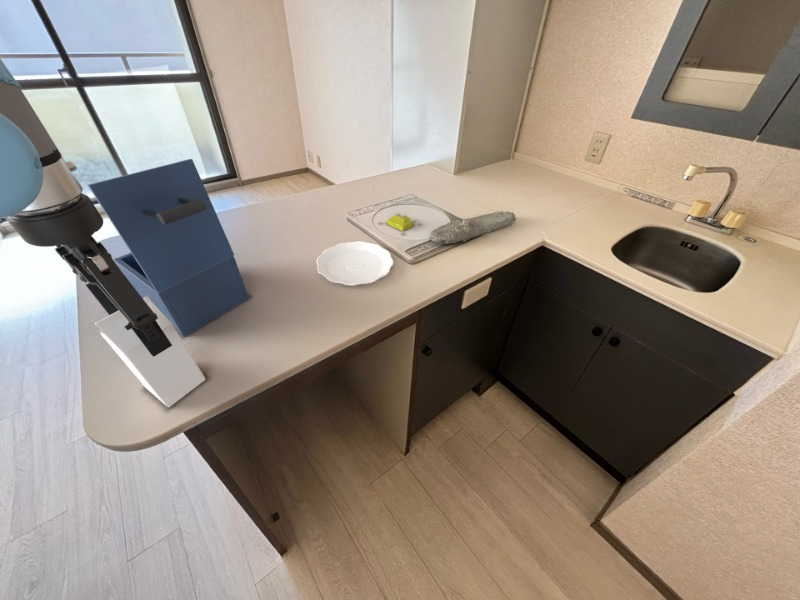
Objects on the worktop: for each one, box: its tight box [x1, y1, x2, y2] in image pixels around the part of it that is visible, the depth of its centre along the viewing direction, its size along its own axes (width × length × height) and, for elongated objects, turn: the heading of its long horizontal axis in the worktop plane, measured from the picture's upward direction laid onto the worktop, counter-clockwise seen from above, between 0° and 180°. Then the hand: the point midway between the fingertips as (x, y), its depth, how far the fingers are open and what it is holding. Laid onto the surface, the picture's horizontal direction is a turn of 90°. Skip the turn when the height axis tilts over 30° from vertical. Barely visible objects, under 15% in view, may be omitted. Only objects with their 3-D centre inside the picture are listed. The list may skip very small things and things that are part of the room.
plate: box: [315, 240, 394, 286], centre depth 90 cm, size 21×21×2 cm
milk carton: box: [95, 296, 206, 408], centre depth 54 cm, size 7×7×19 cm
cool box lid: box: [87, 158, 235, 292], centre depth 58 cm, size 20×16×9 cm
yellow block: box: [386, 214, 414, 232], centre depth 109 cm, size 10×9×3 cm
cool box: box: [112, 252, 250, 338], centre depth 74 cm, size 19×16×12 cm
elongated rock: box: [429, 210, 517, 245], centre depth 106 cm, size 35×5×10 cm
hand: (139, 330), depth 51 cm, fingers open, 13 cm apart
